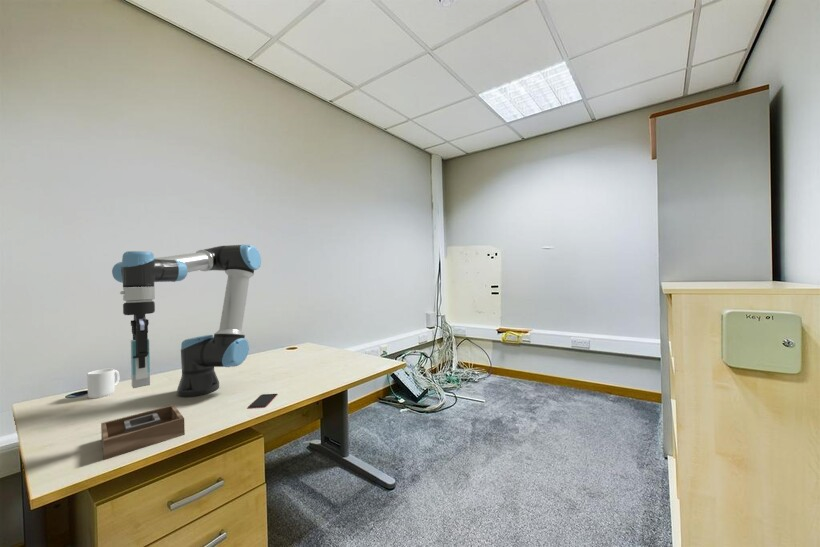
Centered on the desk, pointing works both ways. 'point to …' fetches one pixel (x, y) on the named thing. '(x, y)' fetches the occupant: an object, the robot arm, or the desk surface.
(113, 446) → the connector box
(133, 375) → the connector plug
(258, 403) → the smartphone
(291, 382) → the desk surface
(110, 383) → the cup
